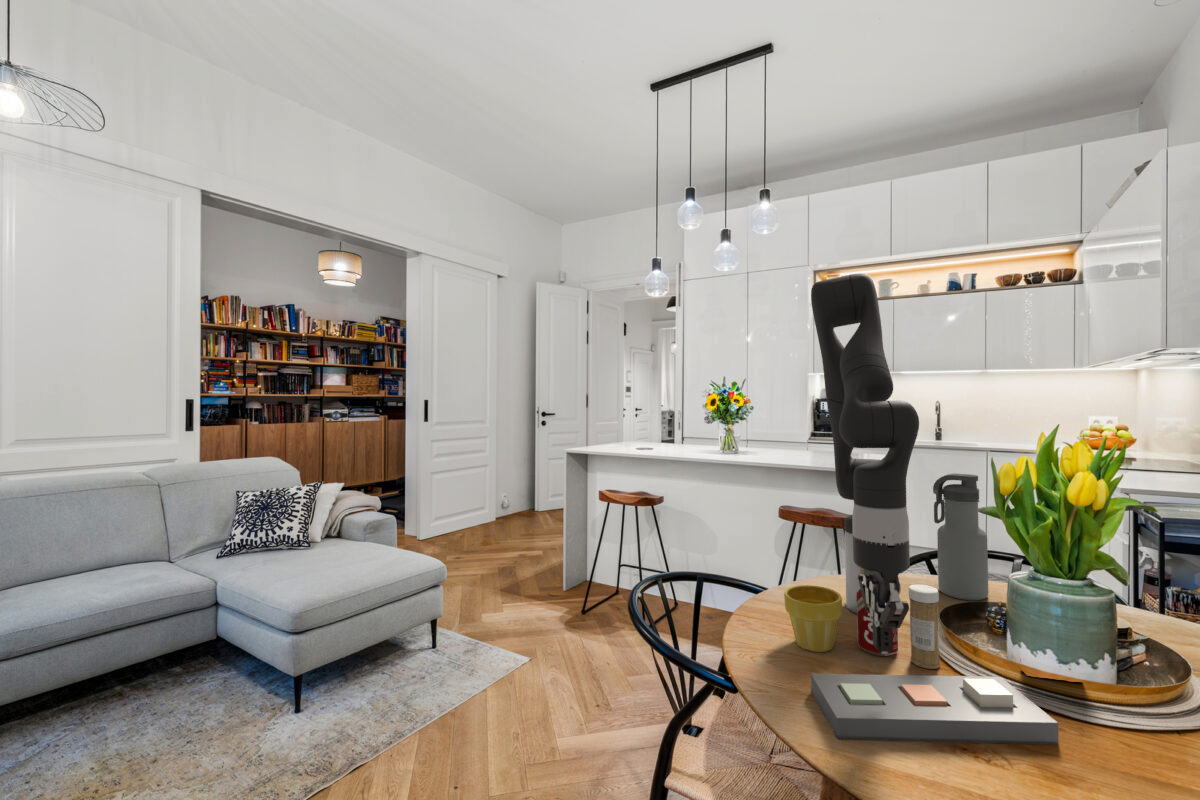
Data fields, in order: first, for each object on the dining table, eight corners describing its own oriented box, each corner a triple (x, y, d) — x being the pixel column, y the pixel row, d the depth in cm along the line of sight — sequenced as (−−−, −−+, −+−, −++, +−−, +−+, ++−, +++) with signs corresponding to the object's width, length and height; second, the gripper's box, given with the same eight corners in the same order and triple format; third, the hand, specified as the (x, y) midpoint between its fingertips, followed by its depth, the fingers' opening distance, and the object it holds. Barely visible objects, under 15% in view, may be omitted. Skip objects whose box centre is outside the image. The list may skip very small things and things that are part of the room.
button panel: (811, 692, 88) (810, 673, 88) (1000, 695, 86) (1000, 676, 85) (837, 739, 76) (836, 717, 76) (1058, 744, 74) (1058, 722, 74)
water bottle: (930, 593, 128) (928, 475, 128) (943, 583, 135) (941, 470, 135) (982, 605, 121) (980, 479, 120) (993, 593, 127) (990, 474, 127)
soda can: (894, 644, 104) (893, 581, 103) (901, 660, 97) (900, 594, 97) (855, 639, 106) (854, 578, 106) (860, 655, 99) (858, 590, 99)
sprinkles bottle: (945, 665, 95) (943, 588, 95) (932, 672, 93) (930, 594, 93) (918, 654, 99) (916, 581, 99) (905, 662, 97) (903, 587, 97)
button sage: (840, 701, 84) (840, 683, 84) (870, 701, 83) (869, 683, 83) (851, 718, 79) (851, 699, 79) (882, 719, 79) (882, 700, 79)
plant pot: (774, 637, 108) (773, 588, 108) (817, 629, 111) (816, 581, 111) (809, 661, 98) (808, 607, 98) (855, 651, 101) (854, 599, 101)
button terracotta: (901, 702, 83) (901, 684, 83) (931, 703, 83) (931, 685, 83) (915, 719, 79) (915, 700, 79) (947, 720, 78) (947, 701, 78)
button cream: (963, 696, 82) (962, 678, 82) (993, 697, 82) (993, 678, 82) (981, 713, 78) (980, 694, 78) (1013, 714, 78) (1013, 695, 78)
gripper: (839, 523, 88) (841, 629, 88) (871, 547, 75) (874, 671, 75) (887, 523, 87) (890, 630, 88) (928, 547, 74) (931, 672, 74)
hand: (882, 649), depth 81 cm, fingers closed
